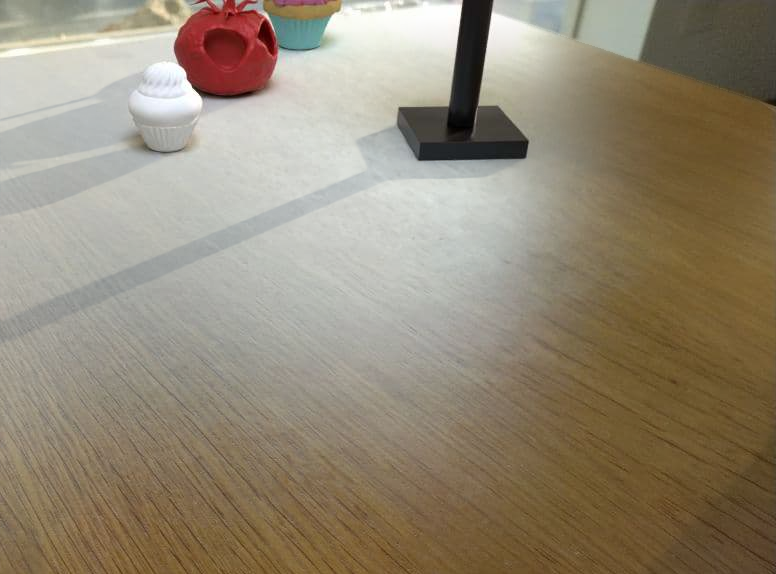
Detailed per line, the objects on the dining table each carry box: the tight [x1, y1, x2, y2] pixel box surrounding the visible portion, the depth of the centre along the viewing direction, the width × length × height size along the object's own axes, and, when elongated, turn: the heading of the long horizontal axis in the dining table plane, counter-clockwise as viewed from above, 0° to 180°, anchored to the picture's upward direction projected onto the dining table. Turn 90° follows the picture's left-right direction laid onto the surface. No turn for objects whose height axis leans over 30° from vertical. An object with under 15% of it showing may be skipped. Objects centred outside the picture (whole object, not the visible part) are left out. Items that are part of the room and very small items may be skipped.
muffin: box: [127, 60, 203, 153], centre depth 81 cm, size 6×6×7 cm
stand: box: [396, 0, 530, 161], centre depth 80 cm, size 9×9×14 cm
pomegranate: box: [173, 0, 279, 96], centre depth 93 cm, size 10×10×9 cm
